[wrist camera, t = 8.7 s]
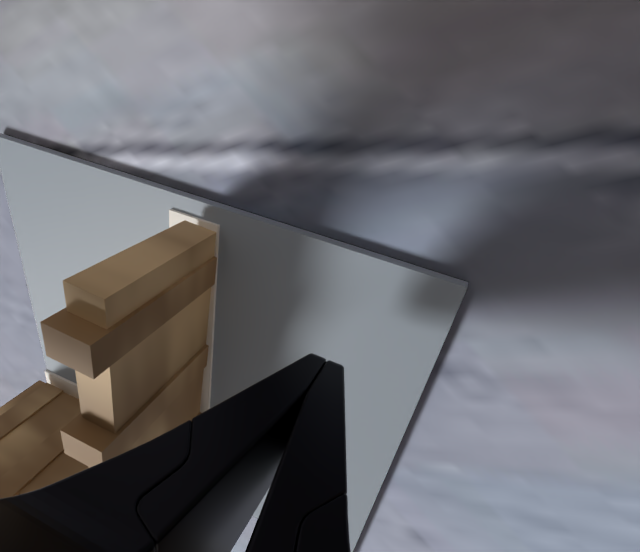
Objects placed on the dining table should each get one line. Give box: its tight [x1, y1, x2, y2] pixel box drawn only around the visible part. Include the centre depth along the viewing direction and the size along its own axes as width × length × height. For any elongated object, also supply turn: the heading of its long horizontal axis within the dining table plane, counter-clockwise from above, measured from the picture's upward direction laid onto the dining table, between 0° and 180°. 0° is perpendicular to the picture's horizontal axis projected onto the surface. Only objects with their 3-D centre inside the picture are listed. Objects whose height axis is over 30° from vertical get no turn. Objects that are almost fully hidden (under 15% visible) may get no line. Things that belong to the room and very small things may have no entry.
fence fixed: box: [0, 380, 89, 499], centre depth 15 cm, size 6×1×4 cm, turn 78°
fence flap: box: [40, 220, 217, 468], centre depth 11 cm, size 9×1×4 cm, turn 165°
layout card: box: [0, 133, 468, 552], centre depth 14 cm, size 15×14×1 cm
